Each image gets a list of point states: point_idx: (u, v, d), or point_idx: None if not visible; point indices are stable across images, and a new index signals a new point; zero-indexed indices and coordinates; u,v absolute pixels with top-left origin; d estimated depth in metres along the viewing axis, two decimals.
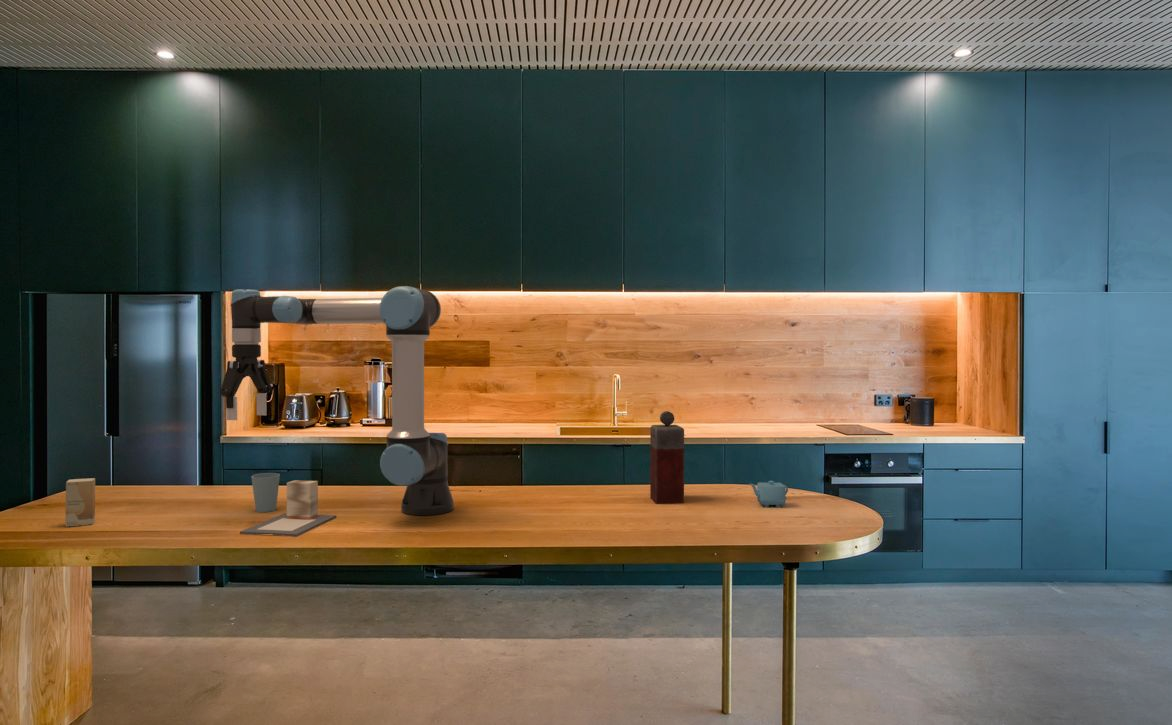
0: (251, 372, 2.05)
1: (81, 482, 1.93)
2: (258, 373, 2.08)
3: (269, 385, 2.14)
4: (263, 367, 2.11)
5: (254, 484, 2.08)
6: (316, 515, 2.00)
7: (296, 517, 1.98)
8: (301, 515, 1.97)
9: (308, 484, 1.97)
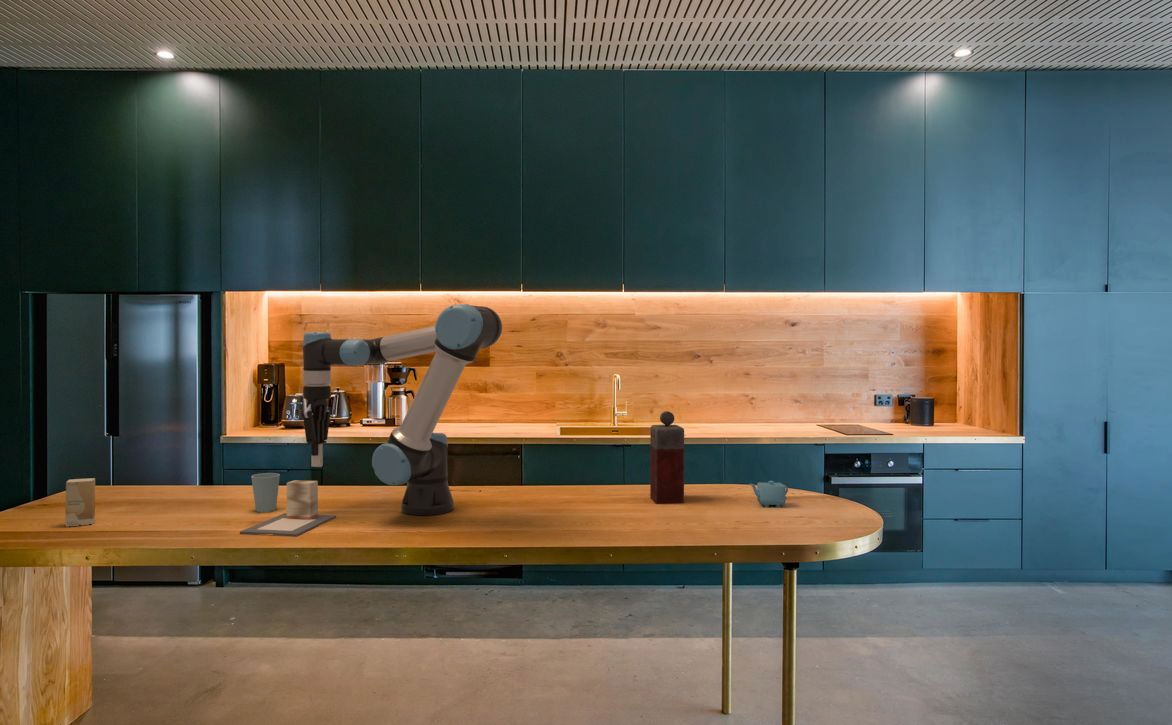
0: (321, 413, 2.08)
1: (81, 482, 1.93)
2: (324, 416, 2.08)
3: (326, 434, 2.11)
4: (329, 413, 2.12)
5: (254, 484, 2.08)
6: (316, 515, 2.00)
7: (296, 517, 1.98)
8: (301, 515, 1.97)
9: (308, 484, 1.97)
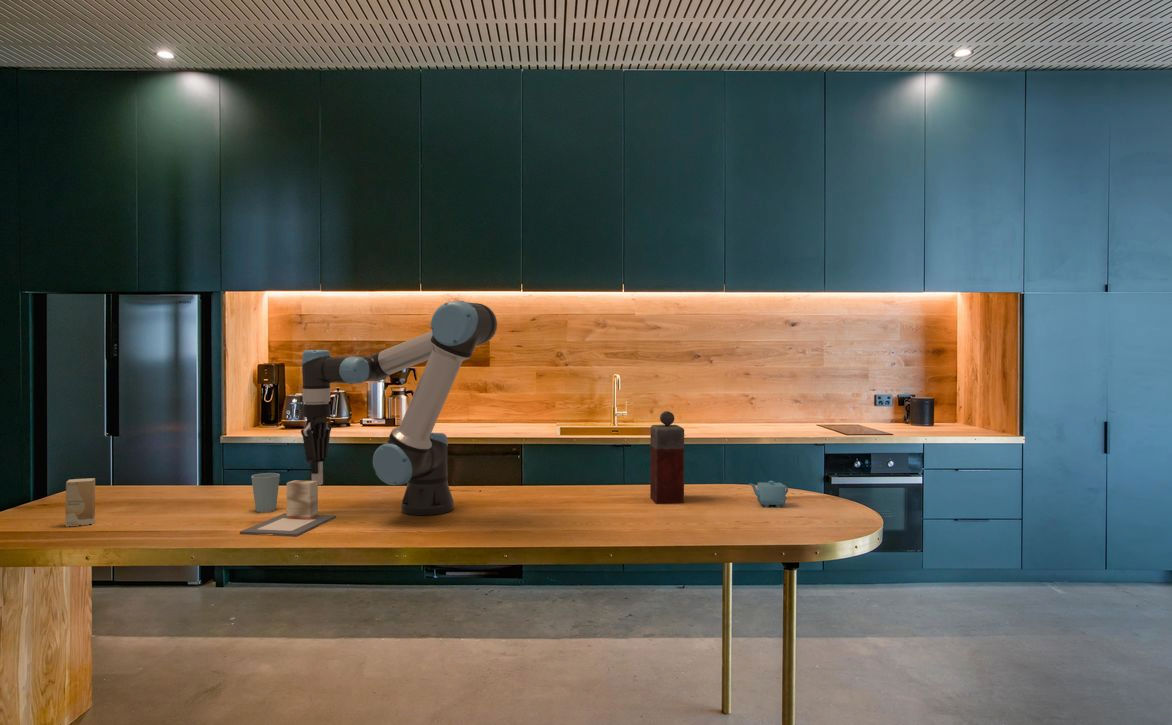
0: (321, 431, 2.07)
1: (81, 482, 1.93)
2: (324, 434, 2.08)
3: (326, 452, 2.10)
4: (328, 431, 2.11)
5: (254, 484, 2.08)
6: (316, 515, 2.00)
7: (296, 517, 1.98)
8: (301, 515, 1.97)
9: (308, 484, 1.97)
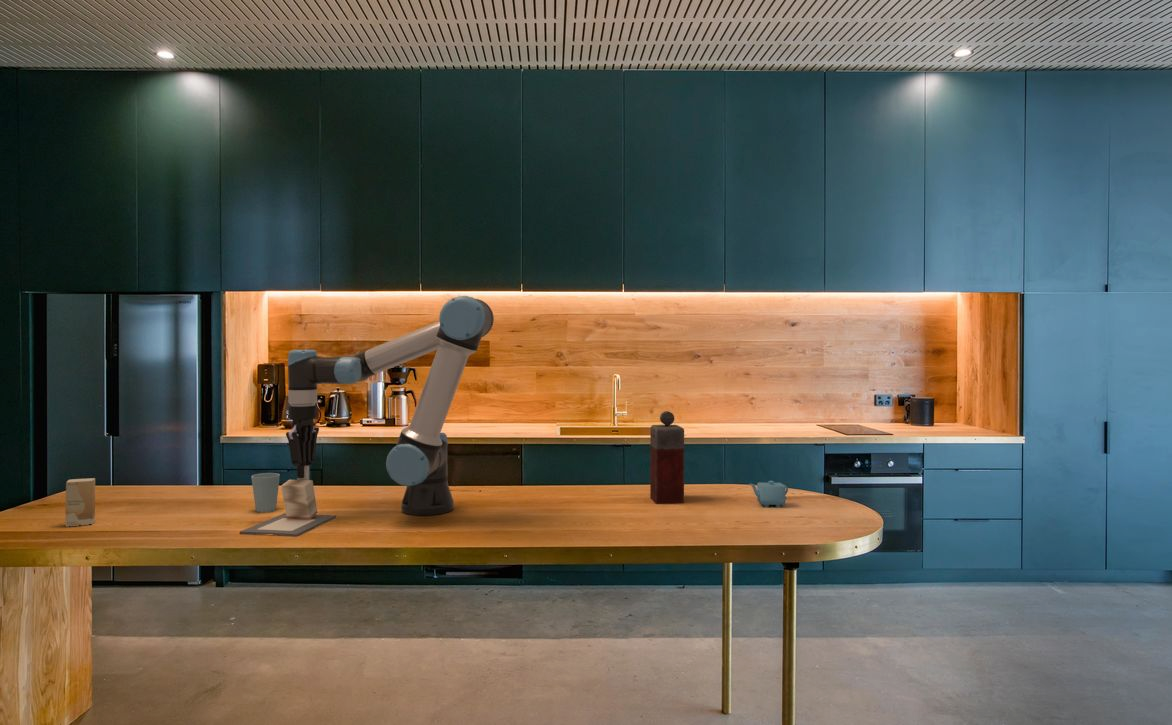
0: (307, 434, 2.00)
1: (81, 482, 1.93)
2: (310, 437, 2.01)
3: (313, 455, 2.03)
4: (315, 434, 2.04)
5: (254, 484, 2.08)
6: (316, 512, 2.00)
7: (295, 517, 1.98)
8: (300, 515, 1.97)
9: (303, 487, 1.95)
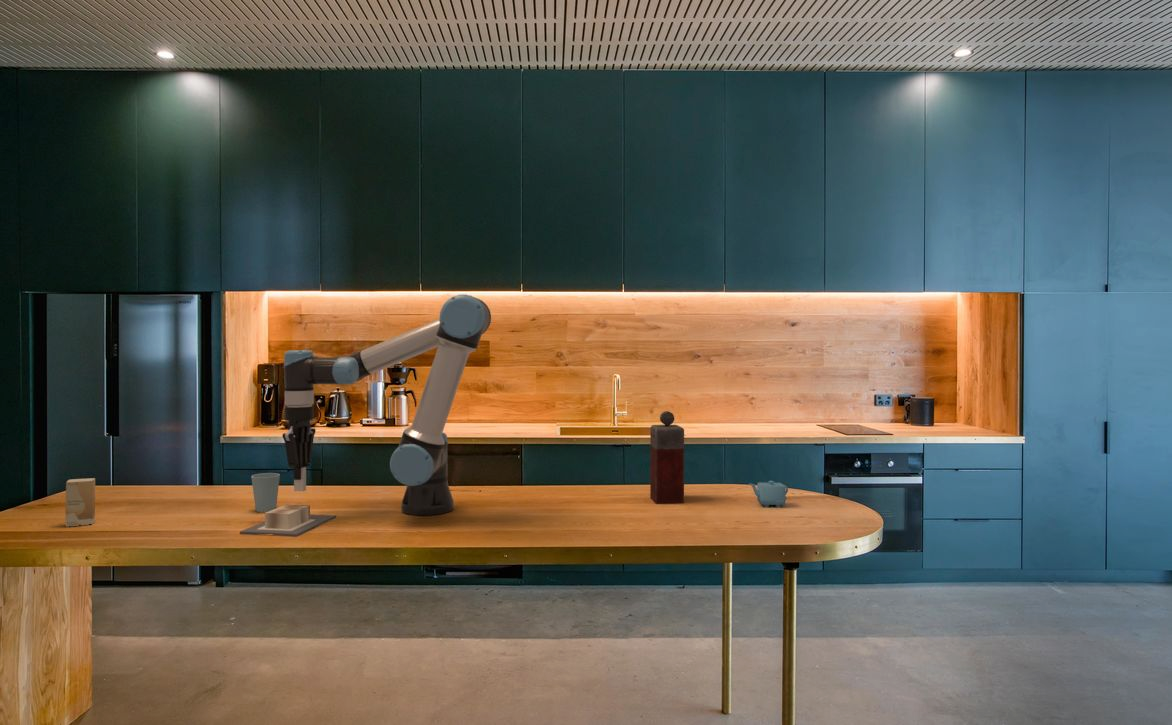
0: (304, 435, 1.98)
1: (81, 482, 1.93)
2: (307, 438, 1.99)
3: (310, 457, 2.01)
4: (312, 435, 2.02)
5: (254, 484, 2.08)
6: (309, 508, 1.97)
7: None
8: None
9: (288, 528, 1.88)
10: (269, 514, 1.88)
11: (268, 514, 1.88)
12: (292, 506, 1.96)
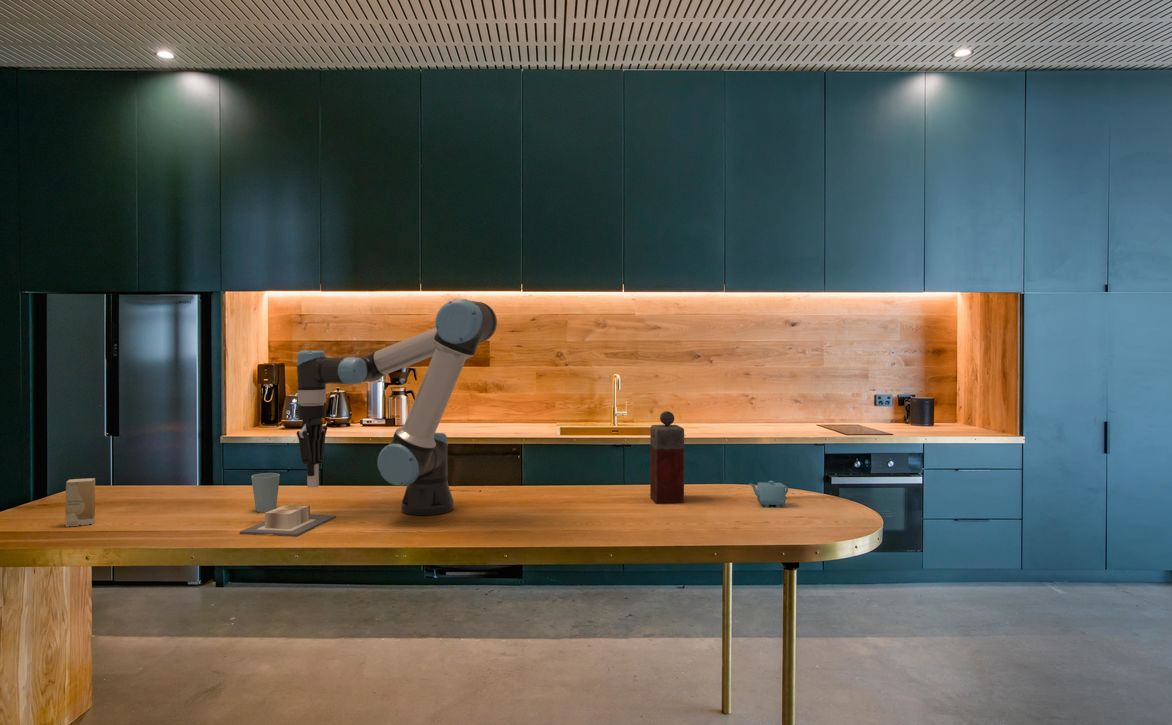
0: (316, 432, 2.05)
1: (81, 482, 1.93)
2: (319, 436, 2.05)
3: (322, 454, 2.08)
4: (324, 433, 2.09)
5: (254, 484, 2.08)
6: (309, 508, 1.97)
7: None
8: None
9: (288, 528, 1.88)
10: (269, 514, 1.88)
11: (268, 514, 1.88)
12: (292, 506, 1.96)
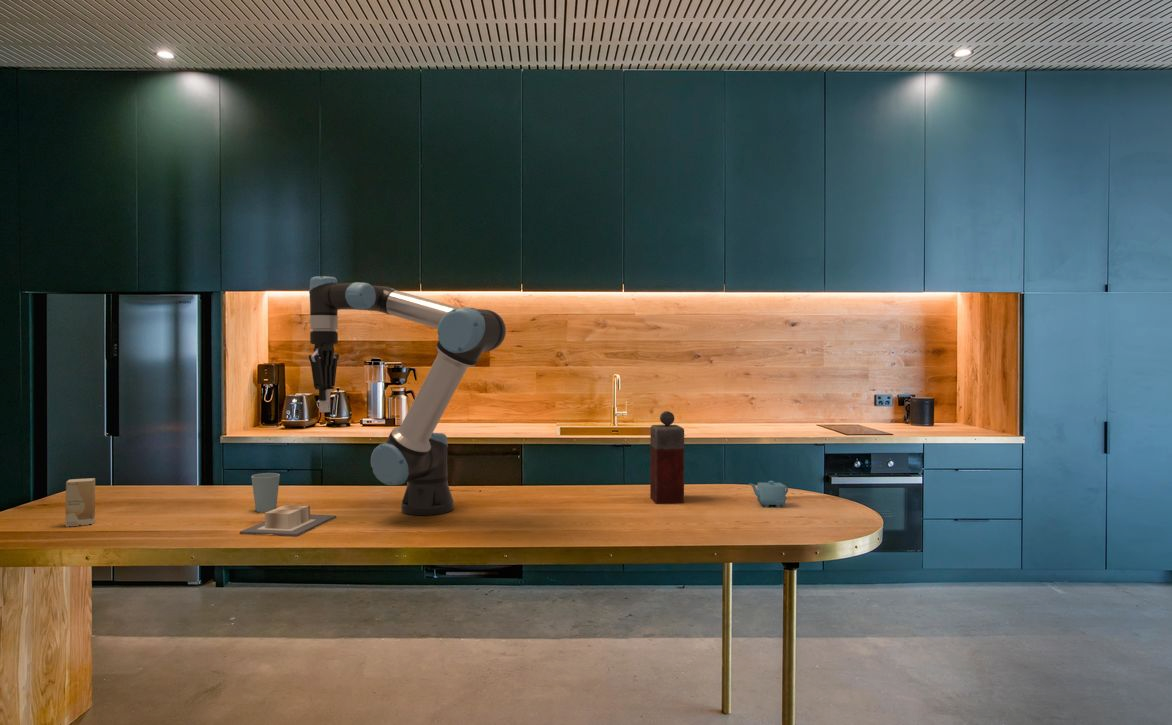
0: None
1: (81, 482, 1.93)
2: (331, 362, 2.08)
3: (334, 381, 2.10)
4: (336, 360, 2.11)
5: (254, 484, 2.08)
6: (309, 508, 1.97)
7: None
8: None
9: (288, 528, 1.88)
10: (269, 514, 1.88)
11: (268, 514, 1.88)
12: (292, 506, 1.96)
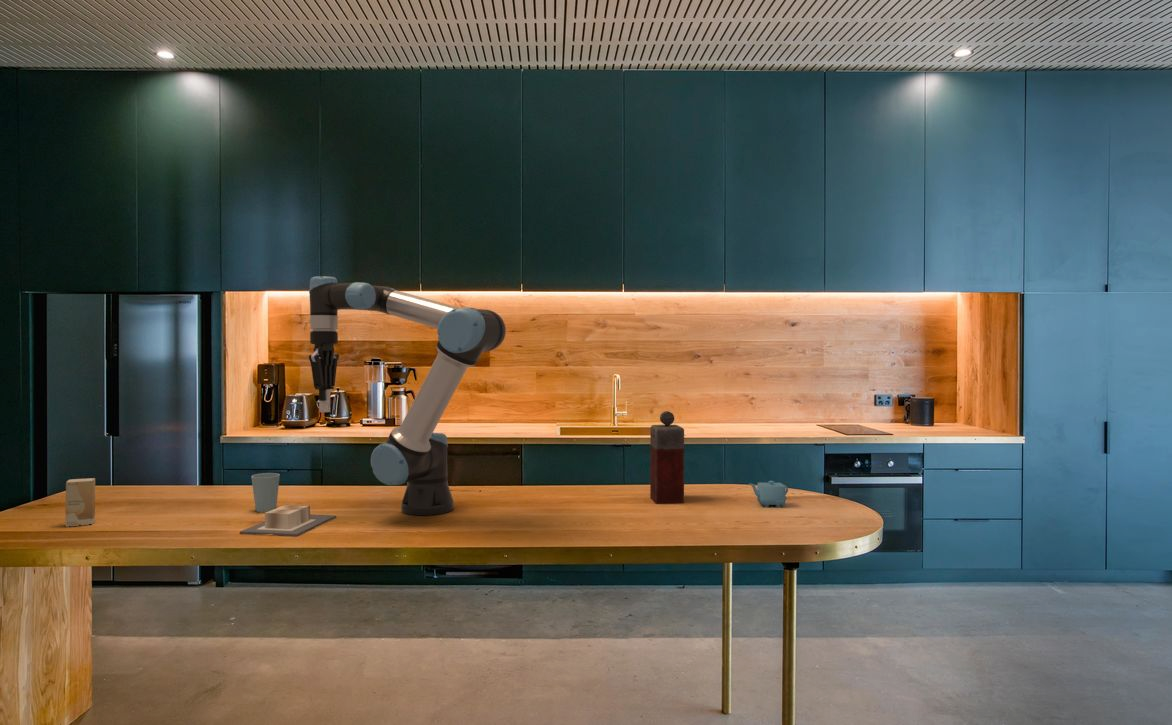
0: (328, 358, 2.07)
1: (81, 482, 1.93)
2: (331, 362, 2.08)
3: (334, 381, 2.10)
4: (336, 360, 2.11)
5: (254, 484, 2.08)
6: (309, 508, 1.97)
7: None
8: None
9: (288, 528, 1.88)
10: (269, 514, 1.88)
11: (268, 514, 1.88)
12: (292, 506, 1.96)
